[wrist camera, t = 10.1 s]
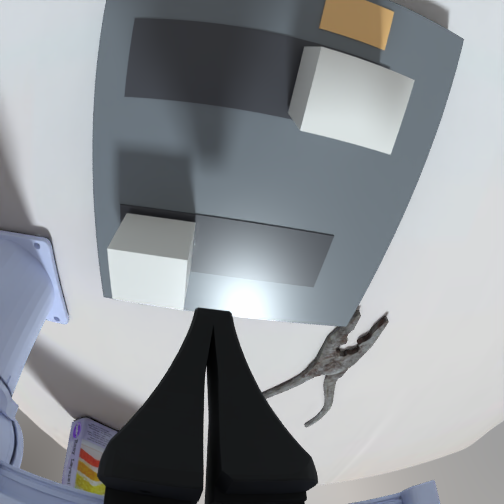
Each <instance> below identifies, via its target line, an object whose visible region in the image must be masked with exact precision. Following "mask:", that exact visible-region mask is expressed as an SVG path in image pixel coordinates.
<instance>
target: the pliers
mask: <svg viewBox="0 0 504 504" xmlns="http://www.w3.org/2000/svg"><path fill="white" fill-rule="evenodd" d="M360 316H361V315H360V312H359V311H355V312H354V314H353V316H352V318H351V319H350V321H349V323H348V325H347V326H346V327H344V326H339V327H338V328H336V329H335V330H334V331H333V332H332V333H331V334H330V335H329V336H327V338H326V340H325V342H324V344H323V346H322V348H321V350H320V351H319V353H318V355H317V357H316V359H315V361H314V362H313V363H312V364H311V365H310V366H309V367H308V368H307V369H306V370H305V371H303V372H302V373H301V374H299V375H298V376H296V377H294V378H293V379H291V380H289V381H287V382H285V383H283V384H281V385H279V386H276V387H274V388H272V389H270V390H268V391H265V392H263V393H262V394H263V396H264V397H265V399H267V398H269V397H272V396H274V395H277V394H279V393H282V392H284V391H287V390H289V389H291V388H294V387H296V386H298V385H300V384H302V383H304V382H306V381H308V380H310V379H312V378H314V377H316V376H320V375H326V376H325V379H324V396H325V403H324V406H323V408H322V410H321V411H320V412H319V413H318V415H317V416H315V417H314V418H313V419H311V420H310V421H308V422H307V423H305V427H309V426H311V425H312V424H314V423H316V422H317V421H318V420H320V419H321V418H322V417H323V416H324V415H325V414H326V413H327V412H328V411H329V409H330V407H331V406H332V403H333V396H334V388H335V384H336V381H337V379H338V378H340V377H342V376H343V374H344V373H345V372H346V371H347V369H348V368H350V367H351V366H352V365H354V364H355V363H356V362H357V361H358V360H359V359H360V358H361V357H362V356H363V355H364V354H365V353H366V352H367V351H368V350H369V349H370V348H371V347H372V345H373V344H374V343H375V341H376V340H377V338H378V337H379V335H380V334H381V332H382V331H383V330H384V328H385V327H386V325H387V324H388V319H387V317H386V316H384V317H383V318H382V319H381V320H380V321H379V322H378V323H377V324H375V325H374V326H373V327H372V328H371V330H370V332H369V333H368V334H367V335H366V336H363V337H362V338H360V339H358V340H357V343H358V346H357V347H356V348H354V349H352V350H345V351H344V352H340V350H339V349H338V348H337V347H339V346H340V345H343V344H346V343H347V341H348V340H347V336H348V334H349V333H350V332H351V331H352V330H354V328H355V326H356V324H357V322H358V320H359V318H360Z"/></svg>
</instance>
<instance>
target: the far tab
mask: <svg viewBox="0 0 504 504" xmlns="http://www.w3.org/2000/svg"><path fill="white" fill-rule="evenodd" d="M195 224H196V222H188V221H181V220H174V219H167V218H160V217H152V216H145V215H137V214H130V213H127V214H126V215H125V217H124V219H123V221H122V222H121V224H120V226H119V228H118V229H117V231H116V233H115V235H114V237H113V239H112V240H111V242H110V244H109V246H108V248H107V252H108V263H109V273H110V282H111V291H112V298H113V299H115V300H120V301H126V302H132V303H138V304H144V305H151V306H157V307H164V308H170V309H177V310H184V304H185V298H186V292H187V286H188V281H189V275H190V269H191V260H192V250H193V241H194V232H195Z"/></svg>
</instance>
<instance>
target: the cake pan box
mask: <svg viewBox="0 0 504 504" xmlns="http://www.w3.org/2000/svg"><path fill="white" fill-rule="evenodd" d="M117 433H118V432H117V431H115V430H113V429H111V428H108V427H106V426H104V425H102V424H100V423H97V422H95V421H93V420H91V419H89V418H87V417H85V418H82V419H77V420H74V422H72V426H71V432H70V437H69V442H68V448H67V454H66V459H65V465H64V471H63V477H62V484H63V485H67V486H70V487H73V488H76V489H80V490H83V491H87V492H91V493H95V494H98V495H102V496H104V495H105V487H106V486H105V485H104V484H103V483H102V482H101V481H100V480H99V479H98V477H97V473H98V467H99V462H100V459H101V456H102V454H103V452H104V450H105V448H106V446H107V444H108V443H109V441H110V439H111V438H112V437H113V436H114V435H115V434H117Z"/></svg>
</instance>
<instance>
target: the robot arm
mask: <svg viewBox="0 0 504 504" xmlns="http://www.w3.org/2000/svg"><path fill="white" fill-rule="evenodd" d="M37 243H38V244H39V245H38V244H37ZM45 320H48V321H53V322H57V323H61V324H67V323H68V321H69V317H68V313H67V310H66V306H65V302H64V298H63V295H62V291H61V287H60V282H59V278H58V274H57V269H56V265H55V260H54V255H53V250H52V245H51V242H50V241H49V240H48V239H47V238H44V237H38V236H32V235H26V234H20V233H14V232H8V231H2V230H0V504H197V501H199V499H200V496H201V494H202V491H203V475H204V470H203V418H204V386H205V372H206V366H207V387H208V410H209V425H208V446H207V467H206V487H205V504H305V503H304V501H306V500H307V496H306V491H307V490H309V489H311V488H312V487H314V486H315V485H316V484H317V483H318V476H317V472H316V468H315V465H314V462H313V460H312V457H311V456H310V455H309V454H308V453H307V452H306V451H305V450H304V449H303V448H302V447H301V446H300V444H299V443H298V442H297V441H296V440H295V439H294V438H293V436H292V435H291V434H290V433H289V432H288V430H287V429H286V428H285V427H284V425H283V424H282V422H281V421H280V420H279V418H278V417H277V416H276V414H275V413H274V411H273V410H272V409H271V407H270V405H269V404H268V402H267V401H266V399H265V397H264V396H263V394H262V392H261V390H260V389H259V387H258V385H257V383H256V381H255V379H254V377H253V375H252V373H251V371H250V369H249V366H248V364H247V362H246V359H245V357H244V354H243V352H242V349H241V346H240V343H239V340H238V337H237V334H236V330H235V327H234V322H233V317H232V313H231V312H230V311H224V310H216V309H208V308H200V307H198V308H196V309H195V312H194V316H193V320H192V323H191V326H190V328H189V331H188V333H187V335H186V337H185V339H184V342H183V344H182V346H181V348H180V350H179V352H178V354H177V355H176V357H175V359H174V361H173V362H172V364H171V366H170V368H169V369H168V371H167V372H166V374H165V376H164V377H163V379H162V380H161V382H160V383H159V384H158V386H157V387H156V389H155V390H154V391H153V393H152V394H151V395H150V397H149V398H148V399H147V401H146V402H145V403H144V404H143V406H142V407H141V408H140V409H139V410H138V411H137V412H136V414H135V415H134V416H133V417H132V418H131V419H130V420H129V422H128V423H127V424H126V425H125V426H124V427H123V428H122V429H121V430H120V431H119V432H118V433H117V434H115V435H114V436H113V437H112V438H111V439H110V441H109V443H108V444H107V446H106V448H105V450H104V452H103V454H102V456H101V459H100V462H99V467H98V473H97V477H98V479H99V480H100V481H101V482H102V483H103V484H104V485H105V486H106V487H105V495H104V496H102V495H98V494H95V493H91V492H87V491H83V490H80V489H76V488H73V487H70V486H67V485H63V484H60V483H57V482H54V481H51V480H48V479H46V478H43V477H40V476H38V475H35V474H32V473H30V472H27V471H24V470H22V469H20V465H21V461H22V456H23V435H22V431H21V428H20V425H19V423H18V422H17V420H16V419H15V415H16V412H17V409H18V407H19V406H18V405H17V404H16V403H15V402H14V401H13V399H12V398H11V397H12V395H13V393H14V390H15V387H16V385H17V382H18V380H19V377H20V375H21V372H22V370H23V368H24V365H25V363H26V361H27V358H28V356H29V354H30V351H31V349H32V347H33V345H34V343H35V340H36V338H37V336H38V334H39V332H40V330H41V328H42V326H43V324H44V322H45ZM350 504H440V500H439V496H438V492H437V488H436V484H435V481H434V480H431V481H429V482H425V483H422V484H419V485H415V486H412V487H410V488H408V489H405V490H403V491H402V492H400V493H396V494H392V495H388V496H384V497H380V498H376V499H370V500H366V501H360V502H355V503H350Z"/></svg>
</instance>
